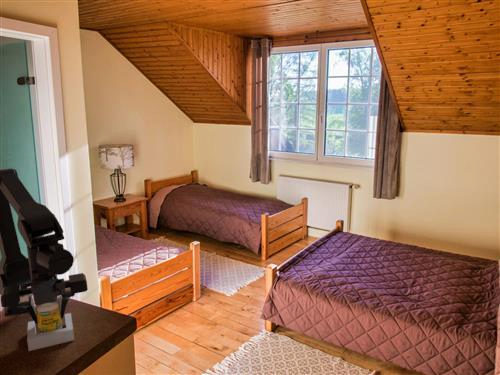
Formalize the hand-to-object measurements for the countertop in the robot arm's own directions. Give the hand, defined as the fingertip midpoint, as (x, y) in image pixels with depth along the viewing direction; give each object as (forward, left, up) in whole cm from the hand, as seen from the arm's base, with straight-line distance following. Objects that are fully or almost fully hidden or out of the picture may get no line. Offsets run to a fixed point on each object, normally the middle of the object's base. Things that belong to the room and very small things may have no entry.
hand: (49, 320), depth 104 cm
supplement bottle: (0, 0, -3) cm, 3 cm away
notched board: (+1, 0, -4) cm, 4 cm away
